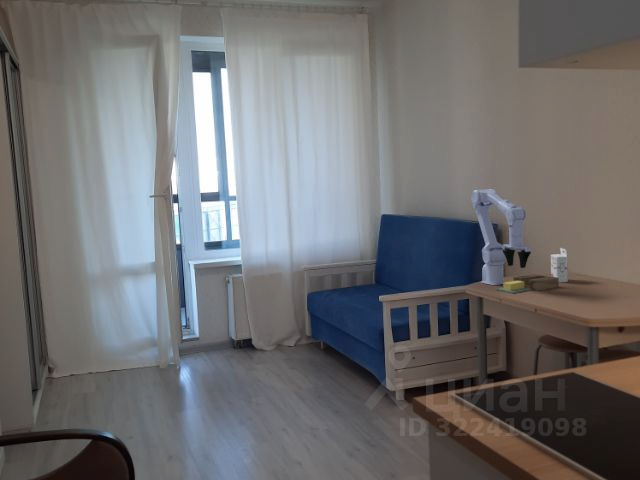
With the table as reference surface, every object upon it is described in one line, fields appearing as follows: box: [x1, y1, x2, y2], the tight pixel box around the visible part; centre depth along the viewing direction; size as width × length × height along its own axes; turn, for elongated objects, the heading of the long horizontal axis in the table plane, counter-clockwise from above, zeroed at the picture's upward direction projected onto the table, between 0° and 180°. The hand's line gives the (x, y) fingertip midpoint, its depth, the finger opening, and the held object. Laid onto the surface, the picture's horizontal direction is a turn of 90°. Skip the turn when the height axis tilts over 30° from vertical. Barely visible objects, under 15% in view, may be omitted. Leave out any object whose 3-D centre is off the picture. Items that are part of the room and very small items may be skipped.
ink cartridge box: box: [550, 247, 569, 283], centre depth 282 cm, size 9×5×15 cm, turn 179°
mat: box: [496, 287, 532, 294], centre depth 268 cm, size 10×10×1 cm
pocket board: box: [513, 273, 560, 291], centre depth 273 cm, size 14×12×4 cm
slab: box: [502, 280, 525, 291], centre depth 268 cm, size 4×8×3 cm, turn 116°
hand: (516, 266), depth 269 cm, fingers open, 7 cm apart
